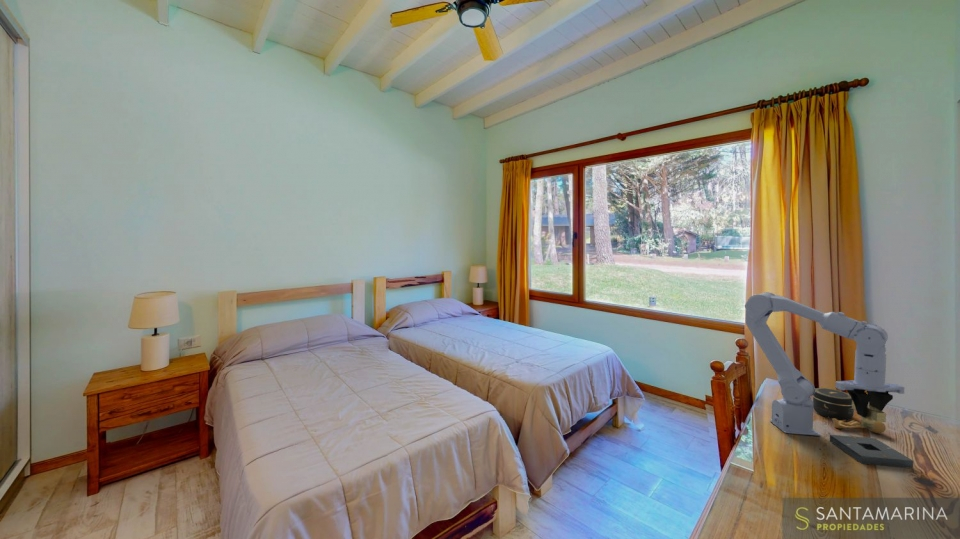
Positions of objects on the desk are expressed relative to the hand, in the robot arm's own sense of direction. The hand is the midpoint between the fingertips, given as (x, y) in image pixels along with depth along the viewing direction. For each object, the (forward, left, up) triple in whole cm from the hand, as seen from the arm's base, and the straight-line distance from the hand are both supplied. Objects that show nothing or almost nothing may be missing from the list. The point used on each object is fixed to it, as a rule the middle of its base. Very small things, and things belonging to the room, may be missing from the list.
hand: (867, 416), depth 97 cm
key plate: (-1, -2, -10) cm, 10 cm away
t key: (0, 0, -3) cm, 3 cm away
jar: (+7, +23, -10) cm, 26 cm away
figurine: (+12, +11, -9) cm, 19 cm away
